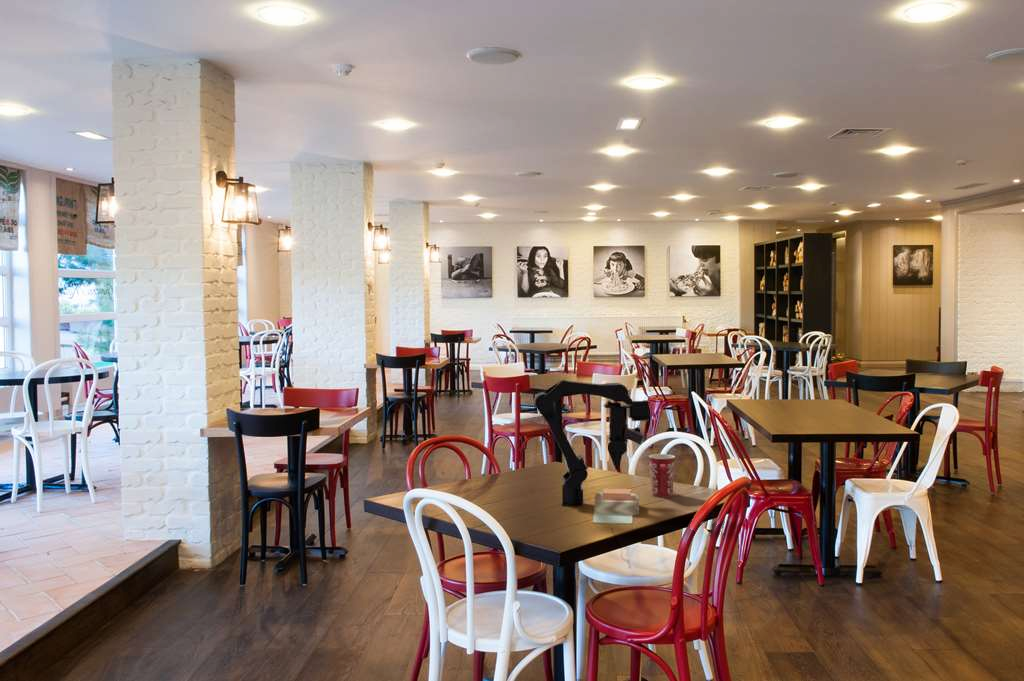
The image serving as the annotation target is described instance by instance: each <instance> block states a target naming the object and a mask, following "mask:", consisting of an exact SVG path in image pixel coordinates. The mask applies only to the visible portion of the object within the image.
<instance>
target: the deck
mask: <svg viewBox="0 0 1024 681" xmlns="http://www.w3.org/2000/svg"><path fill="white" fill-rule="evenodd" d="M639 495H640V494H639V492H638V493H635V492H634V493H633V492H631V500H615V499H603V492H598V491H597V492H595V496H594V502H593V503H594V508H593V509H594V513H621V514H633V516H635V515H636V516H639V515H640V496H639ZM594 513H593V514H594Z"/></svg>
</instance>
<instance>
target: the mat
mask: <svg viewBox="0 0 1024 681" xmlns="http://www.w3.org/2000/svg"><path fill="white" fill-rule="evenodd" d="M633 516H634V515H633V514H621V513H593V518H592V524H610V525H611V524H613V525H614V524H616V525H633Z"/></svg>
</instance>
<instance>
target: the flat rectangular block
mask: <svg viewBox="0 0 1024 681" xmlns="http://www.w3.org/2000/svg"><path fill="white" fill-rule="evenodd" d="M602 493H603V499H615V500H631V493H632V489H628V488H603V489H602Z"/></svg>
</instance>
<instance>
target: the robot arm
mask: <svg viewBox="0 0 1024 681" xmlns="http://www.w3.org/2000/svg"><path fill="white" fill-rule="evenodd" d="M565 393H571V394H572V393H573V394H580V395H587V396H588V395H589V396H597V397H598V396H599V397H602V398H605V399H608V400H607V402H606V403H604V404H603V407H604V408H605V409H609V424H608V427H609V429H608V430H609V432H608V433H609V436H608V443H607V452H608V454H609V456H610V459H611V461H612V463H613V466H614V470H616V471H620V468H621V467H620V466H621V462H622V457H623V455H624V454H625V453H627V451H628V442H629V441H632V442H633V443H636V444H637V445H641V444H642V442H643V440H644V437H645V434H644V433H643V432H641V428H640V427H634V428H629V425H628V419H630V420H631V421H632V422H650V420H651V411H650V405H649V403H650V402H649V400H646V399H645V400H633V399H632V398H631V397H630V396H629V390H628V388H627V387H626V386H625V385H624V384H622V383H619V382H607V383H600V384H599V383H591V382H583V381H574V380H566V379H563V378H561V379H560V380H558V381H557V382H556V383H555V384H554V385H552V386H551V387H549V388H547V389H546V390H544V392H542V391H541V392H538V393H537V394H535V395H534V398H533V403H534V406H535V407H536V409H537V411H539V413H540V415H541V416H542V417H543V419H544V420H545V421H546V422H547V425H548V426H549V429H550V431H551V433H552V435H553V437H554V439H555V441H556V443H557V445H558V447H559V449H560V451H561V453H562V455H563V456H564V461H565V462H564V463H565V465H566V468H567V471H566V472H565V473H564V474H563V475H562V477H561V479H562V481H563V483H562V484H561V486H562V488H561V490H562V491H561V494H562V496H561V497H562V502H561V506H571V507H572V506H578V507H580V506H582V504H583V503H584V501H585V500H584V489H583V486H582V485H583V482H584V481H586V479H587V478H588V475H589V474H588V470H589V467H588V465H586V463H585V461H584V460H585V459H584V458H583V456H582V455H581V454H579V455H578V456H577V455H576V453H575V451H574V449H573V447H572V445H571V444H570V441H569V439H568V437H567V435H566V433H565V431H564V428H562V425H561V423H560V421H559V419H558V416H557V412H556V409H555V405H554V403H555V402H556V401H558V400H559V399H560V398H561V397H562V396H563V395H564V394H565ZM611 401H614V402H611ZM621 402H623V404H621ZM627 418H628V419H627ZM628 440H629V441H628Z"/></svg>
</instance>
